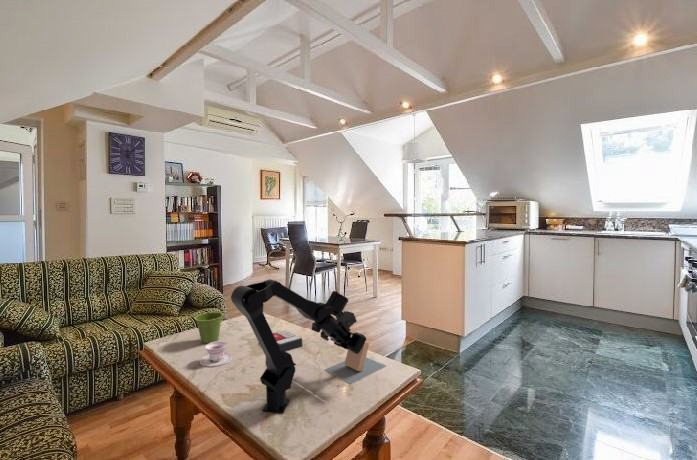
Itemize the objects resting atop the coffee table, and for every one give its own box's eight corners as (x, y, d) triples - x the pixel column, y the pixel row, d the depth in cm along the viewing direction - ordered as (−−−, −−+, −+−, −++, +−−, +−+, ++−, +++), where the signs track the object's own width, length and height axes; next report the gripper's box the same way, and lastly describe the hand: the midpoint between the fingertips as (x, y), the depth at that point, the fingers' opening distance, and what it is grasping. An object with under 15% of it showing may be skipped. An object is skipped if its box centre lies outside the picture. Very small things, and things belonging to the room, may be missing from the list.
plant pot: (191, 340, 154) (190, 315, 153) (218, 333, 162) (217, 310, 161) (200, 348, 145) (199, 322, 144) (228, 340, 153) (227, 316, 152)
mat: (350, 385, 114) (350, 384, 114) (323, 370, 124) (323, 369, 124) (386, 367, 126) (386, 366, 126) (359, 355, 137) (359, 354, 137)
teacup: (219, 369, 126) (218, 353, 126) (192, 365, 130) (192, 349, 130) (238, 355, 138) (238, 340, 137) (214, 352, 141) (213, 337, 141)
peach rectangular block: (357, 370, 121) (364, 342, 123) (344, 364, 126) (351, 337, 128) (362, 371, 123) (369, 343, 125) (349, 364, 128) (356, 337, 130)
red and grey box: (285, 328, 158) (302, 336, 146) (285, 338, 158) (302, 346, 146) (263, 334, 151) (279, 343, 139) (263, 344, 151) (279, 353, 139)
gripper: (362, 312, 113) (384, 335, 121) (326, 301, 126) (348, 322, 135) (344, 342, 108) (369, 364, 116) (309, 327, 122) (333, 348, 130)
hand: (354, 348), depth 124 cm, fingers closed
